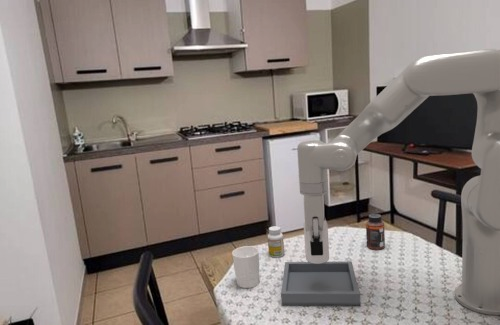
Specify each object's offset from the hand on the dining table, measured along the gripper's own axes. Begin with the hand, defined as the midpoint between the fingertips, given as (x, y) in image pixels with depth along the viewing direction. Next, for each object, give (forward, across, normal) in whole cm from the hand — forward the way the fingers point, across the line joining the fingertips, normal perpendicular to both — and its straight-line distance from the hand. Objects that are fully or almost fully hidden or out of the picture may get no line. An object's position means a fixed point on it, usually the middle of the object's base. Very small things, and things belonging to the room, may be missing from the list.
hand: (316, 249), depth 101 cm
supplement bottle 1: (+12, -22, -14) cm, 29 cm away
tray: (+12, 0, 0) cm, 12 cm away
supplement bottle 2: (+12, -27, +20) cm, 36 cm away
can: (+3, 0, 0) cm, 3 cm away
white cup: (+12, -3, -21) cm, 24 cm away
